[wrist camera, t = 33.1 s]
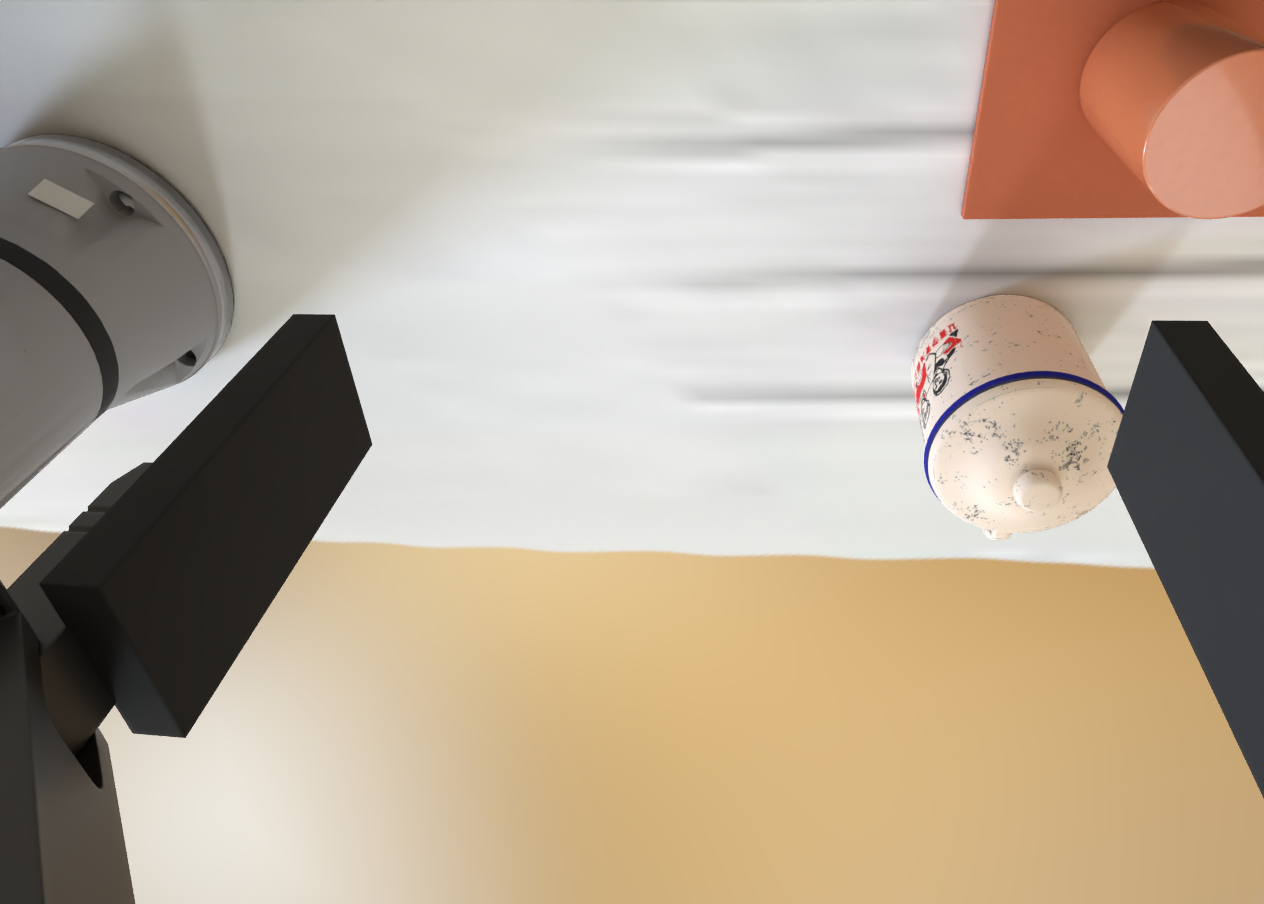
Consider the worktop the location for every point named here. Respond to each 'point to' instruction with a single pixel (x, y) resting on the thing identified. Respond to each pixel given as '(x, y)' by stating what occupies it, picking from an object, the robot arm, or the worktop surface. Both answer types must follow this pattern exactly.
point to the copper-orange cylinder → (1182, 106)
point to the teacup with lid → (1013, 416)
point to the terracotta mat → (1056, 116)
